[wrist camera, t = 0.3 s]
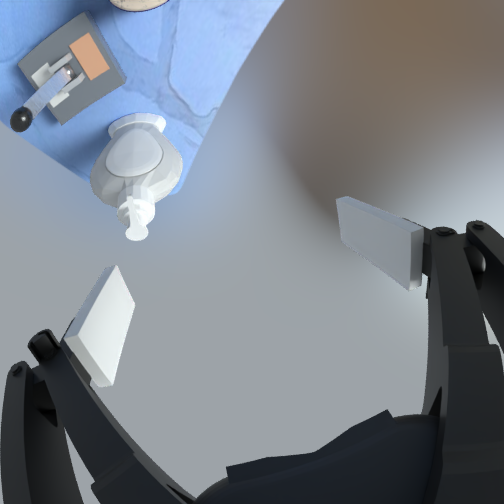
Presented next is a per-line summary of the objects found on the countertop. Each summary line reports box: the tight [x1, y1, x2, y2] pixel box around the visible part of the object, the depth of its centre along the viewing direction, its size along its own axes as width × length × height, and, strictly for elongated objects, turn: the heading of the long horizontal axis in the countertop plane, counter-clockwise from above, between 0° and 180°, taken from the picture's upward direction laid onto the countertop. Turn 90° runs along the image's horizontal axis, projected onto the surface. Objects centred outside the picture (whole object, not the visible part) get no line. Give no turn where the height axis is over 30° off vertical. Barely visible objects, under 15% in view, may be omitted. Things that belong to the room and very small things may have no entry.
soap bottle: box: [90, 113, 183, 241], centre depth 33 cm, size 13×8×24 cm, turn 80°
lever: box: [10, 63, 76, 132], centre depth 22 cm, size 3×3×13 cm
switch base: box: [17, 10, 127, 125], centre depth 26 cm, size 12×14×5 cm
